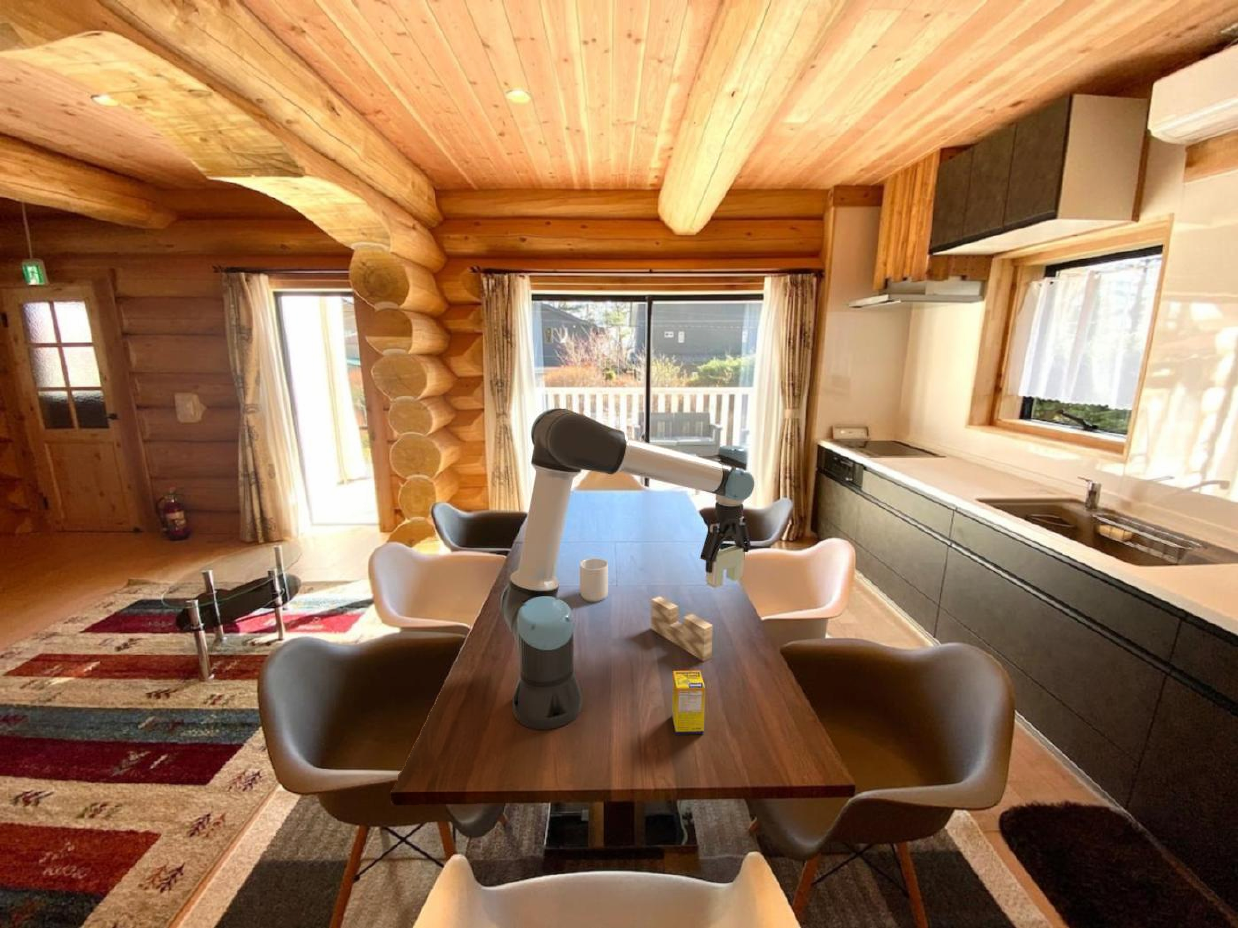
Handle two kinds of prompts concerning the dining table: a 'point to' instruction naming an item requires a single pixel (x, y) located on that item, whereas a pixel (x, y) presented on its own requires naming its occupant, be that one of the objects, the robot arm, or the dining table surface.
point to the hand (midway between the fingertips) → (724, 577)
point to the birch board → (682, 628)
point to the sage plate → (728, 565)
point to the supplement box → (688, 702)
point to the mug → (594, 579)
